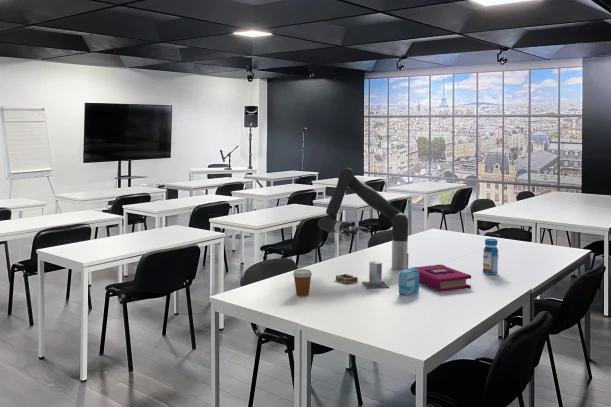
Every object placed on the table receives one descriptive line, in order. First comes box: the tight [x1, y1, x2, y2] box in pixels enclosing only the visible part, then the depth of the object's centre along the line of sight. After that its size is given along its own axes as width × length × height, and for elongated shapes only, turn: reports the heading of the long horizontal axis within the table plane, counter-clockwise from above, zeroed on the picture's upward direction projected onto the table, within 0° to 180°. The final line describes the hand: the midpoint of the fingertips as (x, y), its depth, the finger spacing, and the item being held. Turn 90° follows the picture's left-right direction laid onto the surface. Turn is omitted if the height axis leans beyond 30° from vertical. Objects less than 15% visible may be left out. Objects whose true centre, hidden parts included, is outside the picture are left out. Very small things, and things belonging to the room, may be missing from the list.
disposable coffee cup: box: [293, 268, 313, 297], centre depth 280 cm, size 10×10×12 cm
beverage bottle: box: [482, 238, 499, 275], centre depth 320 cm, size 8×8×20 cm
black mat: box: [362, 280, 390, 290], centre depth 297 cm, size 12×12×1 cm
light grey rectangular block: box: [368, 260, 383, 286], centre depth 296 cm, size 6×4×12 cm, turn 33°
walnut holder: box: [335, 273, 358, 285], centre depth 306 cm, size 10×7×2 cm
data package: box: [398, 267, 420, 296], centre depth 282 cm, size 12×4×12 cm, turn 136°
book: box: [412, 263, 472, 293], centre depth 300 cm, size 21×28×8 cm
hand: (362, 231), depth 303 cm, fingers open, 8 cm apart
